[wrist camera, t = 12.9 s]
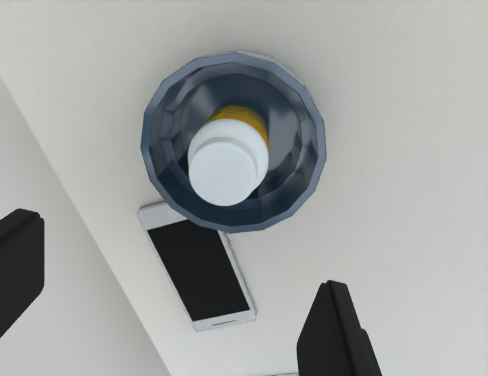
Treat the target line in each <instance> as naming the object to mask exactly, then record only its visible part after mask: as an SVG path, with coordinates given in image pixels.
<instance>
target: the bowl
mask: <svg viewBox="0 0 488 376" xmlns="http://www.w3.org/2000/svg"><path fill="white" fill-rule="evenodd" d="M234 103H239V104H245V105H248V106H250V107H252V108H254V109H255V110H256V111H258V112H259V113H260V114H261V116H262V117H263V118H264V120H265V122H266V124H267V127H268V131H269V163H268V169H267V172H266V175H265V177H264V179H263V180H262V182H261V183H260V184H259V186H258V187H257V188H255V189H254V190H253V191H252V192H251V193H250V195H249V196H248V197H247V198H246V199H244V200H243V201H241V202H239V203H237V204H234V205H230V206H219V205H214V204H211V203H209V202H207V201H205V200H204V199H202V198H201V197H200V196H199V195H198V194H197V193H196V192H195V190H194V189H193V187H192V185H191V182H190V179H189V164H188V150H189V146H190V144H191V141H192V139H193V137H194V136H195V134H196V133H197V132H198V131H199V129H200V128H201V127H202V126H203V125H204V123H205V122H206V121H207V120H208V119H209V117H210V116H211V115H212V114H213V113H214V112H215V111H216V110H217V109H219V108H221V107H223V106H225V105H229V104H234ZM140 147H141V152H142V155H143V159H144V162H145V165H146V169H147V172H148V176H149V179H150V181H151V183H152V184H153V185H154V187H155V188H156V189H157V191H158V192H159V193H160V195H161V196H162V197H163V198H164V200H165V201H166V202H167V204H168V205H169V206H170V207H171V208H172V209H173V210H175V211H177V212H178V213H180V214H181V215H183V216H184V217H186V218H187V219H189V220H190V221H192V222H193V223H195V224H197V225H199V226H202V227H206V228H210V229H214V230H219V231H223V232H227V233H239V232H249V231H259V230H264V229H266V228H268V227H270V226H272V225H274V224H276V223H278V222H280V221H282V220H284V219H286V218H288V217H291V216H292V215H293V214H294V213H295V212H296V211H297V210H298V209H299V208H300V207H301V206H302V204H303V203H304V202H305V201H306V200H307V199H308V198H309V197H310V196H311V195H312V193H313V192H314V191H315V189H316V186H317V184H318V181H319V178H320V175H321V172H322V170H323V167H324V164H325V161H326V143H325V129H324V121H323V119H322V117H321V115H320V113H319V111H318V109H317V107H316V106H315V104H314V102H313V100H312V98H311V96H310V94H309V92H308V90H307V89H306V87H305V86H304V84H303V83H302V81H301V80H300V79H299V78H298V77H297V76H296V75H295V74H293V73H292V72H291V71H290V70H288V69H287V68H286V67H285V66H283V65H282V64H281V63H279V62H278V61H277V60H276V59H274V58H272V57H268V56H264V55H260V54H256V53H253V52H249V51H245V50H235V51H230V52H224V53H218V54H213V55H208V56H204V57H200V58H196V59H194V60H192V61H191V62H189V63H188V64H186V65H185V66H183V67H182V68H181V69H179V70H178V71H176V72H175V73H173V74H172V75H170V76H169V77H168V78H166V79H165V80H163V81H162V83H161V85H160V86H159V88H158V90H157V92H156V93H155V95H154V97H153V98H152V100H151V102H150V103H149V105H148V107H147V108H146V110H145V113H144V119H143V128H142V137H141V146H140Z"/></svg>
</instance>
